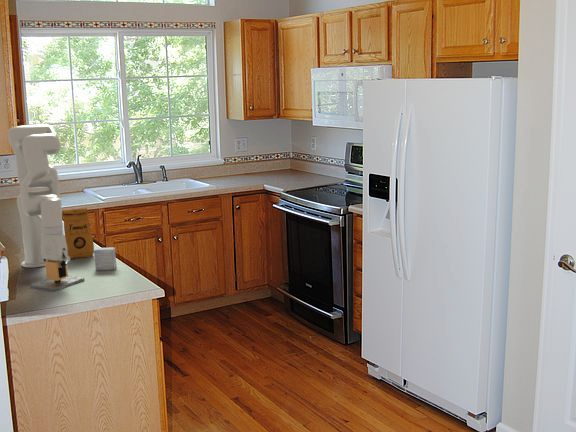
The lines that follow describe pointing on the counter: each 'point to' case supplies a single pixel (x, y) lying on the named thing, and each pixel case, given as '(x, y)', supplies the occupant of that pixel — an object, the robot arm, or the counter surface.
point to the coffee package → (78, 233)
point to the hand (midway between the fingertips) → (57, 275)
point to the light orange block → (53, 270)
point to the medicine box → (105, 258)
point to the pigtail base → (57, 283)
